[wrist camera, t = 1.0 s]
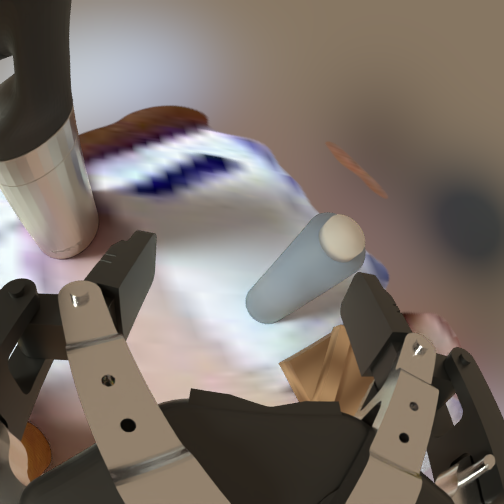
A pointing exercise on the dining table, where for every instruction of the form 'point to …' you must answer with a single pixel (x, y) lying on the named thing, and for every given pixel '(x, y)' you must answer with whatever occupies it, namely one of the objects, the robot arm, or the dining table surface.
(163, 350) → the dining table surface
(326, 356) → the display stand
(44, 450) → the disposable coffee cup
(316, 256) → the flask
